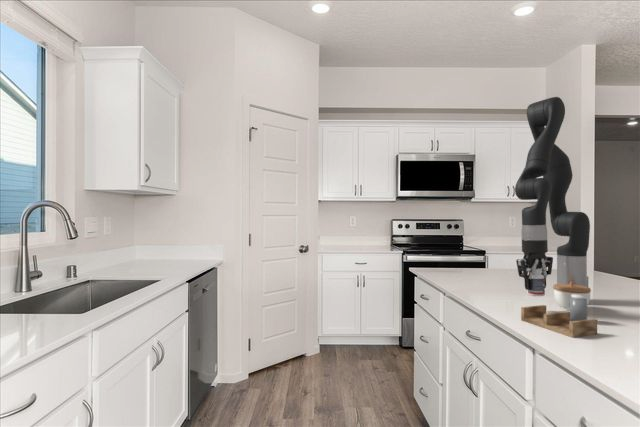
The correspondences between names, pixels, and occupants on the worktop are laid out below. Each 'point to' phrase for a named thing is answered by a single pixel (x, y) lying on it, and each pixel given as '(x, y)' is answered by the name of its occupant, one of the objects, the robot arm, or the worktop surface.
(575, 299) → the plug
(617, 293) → the worktop surface
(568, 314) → the rack
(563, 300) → the lidded jar
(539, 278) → the pill bottle
